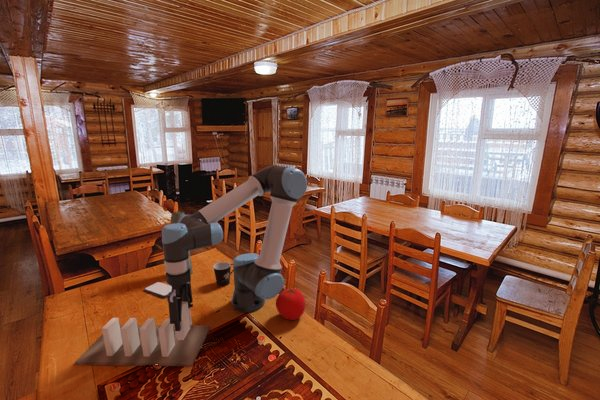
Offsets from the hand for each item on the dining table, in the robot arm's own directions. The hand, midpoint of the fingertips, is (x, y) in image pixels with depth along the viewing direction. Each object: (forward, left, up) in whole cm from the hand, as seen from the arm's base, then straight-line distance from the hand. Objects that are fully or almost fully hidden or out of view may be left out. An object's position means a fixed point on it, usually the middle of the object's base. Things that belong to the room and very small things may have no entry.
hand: (183, 330), depth 105 cm
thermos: (+25, -60, -9) cm, 66 cm away
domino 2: (+19, 0, -8) cm, 21 cm away
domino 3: (+13, 0, -8) cm, 15 cm away
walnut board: (+16, -4, -9) cm, 19 cm away
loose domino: (0, 0, -1) cm, 1 cm away
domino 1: (+26, 0, -8) cm, 27 cm away
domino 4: (+6, 0, -8) cm, 10 cm away
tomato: (-36, -22, -10) cm, 43 cm away
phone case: (+29, -42, -10) cm, 52 cm away
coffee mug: (-1, -50, -9) cm, 51 cm away
